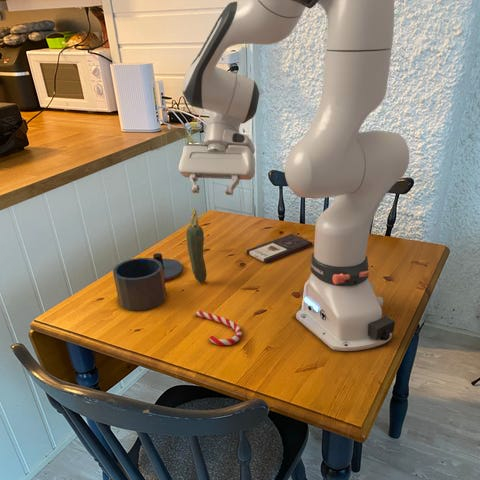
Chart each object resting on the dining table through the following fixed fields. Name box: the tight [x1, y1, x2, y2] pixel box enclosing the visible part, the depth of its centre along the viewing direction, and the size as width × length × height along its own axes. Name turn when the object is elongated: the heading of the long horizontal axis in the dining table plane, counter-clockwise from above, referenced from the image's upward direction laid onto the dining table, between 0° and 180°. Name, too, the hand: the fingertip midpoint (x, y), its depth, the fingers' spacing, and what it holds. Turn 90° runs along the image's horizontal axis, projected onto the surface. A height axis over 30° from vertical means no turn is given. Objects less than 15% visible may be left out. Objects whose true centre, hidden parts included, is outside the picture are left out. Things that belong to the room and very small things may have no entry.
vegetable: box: [185, 207, 208, 284], centre depth 117 cm, size 4×4×20 cm
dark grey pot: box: [112, 257, 167, 312], centre depth 114 cm, size 12×12×8 cm
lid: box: [152, 252, 184, 281], centre depth 127 cm, size 13×13×5 cm
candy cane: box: [195, 310, 243, 346], centre depth 104 cm, size 8×1×15 cm
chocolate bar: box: [246, 233, 313, 264], centre depth 138 cm, size 9×1×18 cm
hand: (211, 193), depth 121 cm, fingers open, 8 cm apart
